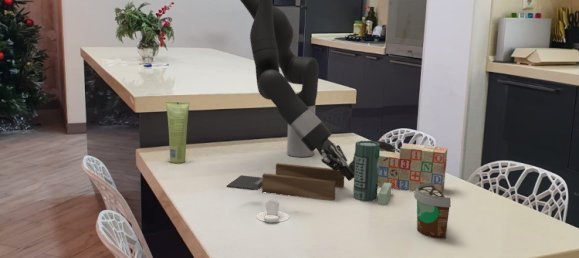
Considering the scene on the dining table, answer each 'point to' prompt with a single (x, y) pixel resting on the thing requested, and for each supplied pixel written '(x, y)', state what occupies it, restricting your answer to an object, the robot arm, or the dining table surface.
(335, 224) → the dining table surface
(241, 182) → the mat
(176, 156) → the tube
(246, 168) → the dining table surface
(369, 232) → the dining table surface
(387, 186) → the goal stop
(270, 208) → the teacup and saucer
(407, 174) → the stack of blocks
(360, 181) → the can
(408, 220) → the dining table surface
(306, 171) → the lane
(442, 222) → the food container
